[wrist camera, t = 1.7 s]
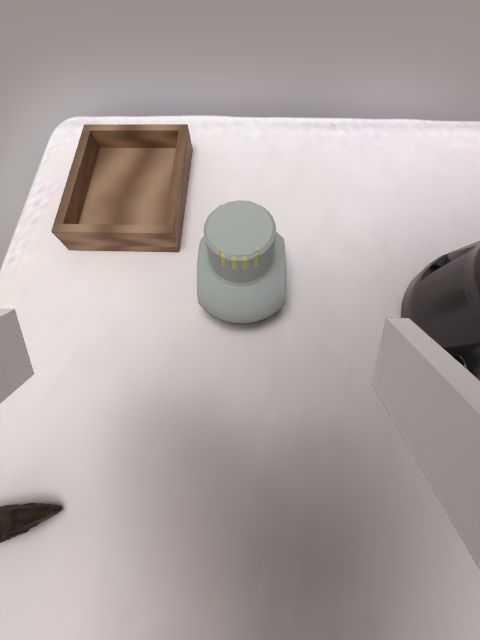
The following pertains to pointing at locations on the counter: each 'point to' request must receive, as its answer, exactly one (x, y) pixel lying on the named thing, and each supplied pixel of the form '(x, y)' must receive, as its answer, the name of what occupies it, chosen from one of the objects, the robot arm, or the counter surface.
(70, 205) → the tray
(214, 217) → the air freshener
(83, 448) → the counter surface
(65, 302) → the counter surface
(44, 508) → the hand tool
